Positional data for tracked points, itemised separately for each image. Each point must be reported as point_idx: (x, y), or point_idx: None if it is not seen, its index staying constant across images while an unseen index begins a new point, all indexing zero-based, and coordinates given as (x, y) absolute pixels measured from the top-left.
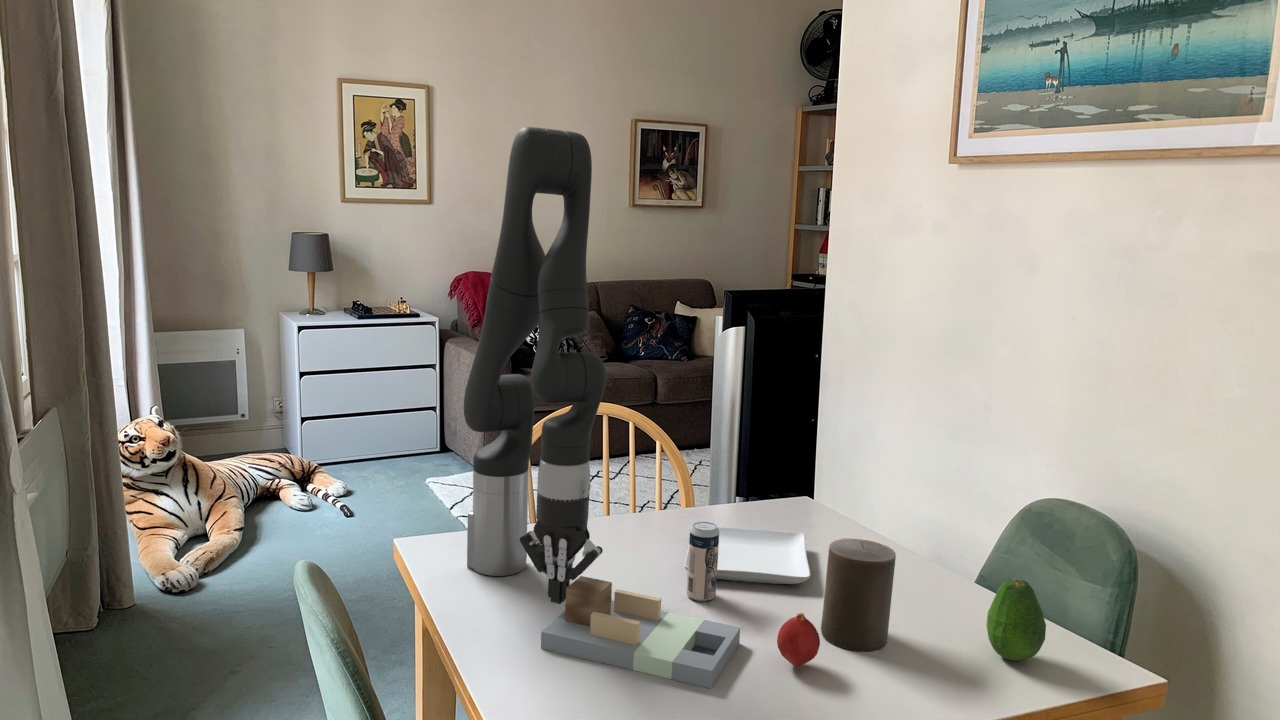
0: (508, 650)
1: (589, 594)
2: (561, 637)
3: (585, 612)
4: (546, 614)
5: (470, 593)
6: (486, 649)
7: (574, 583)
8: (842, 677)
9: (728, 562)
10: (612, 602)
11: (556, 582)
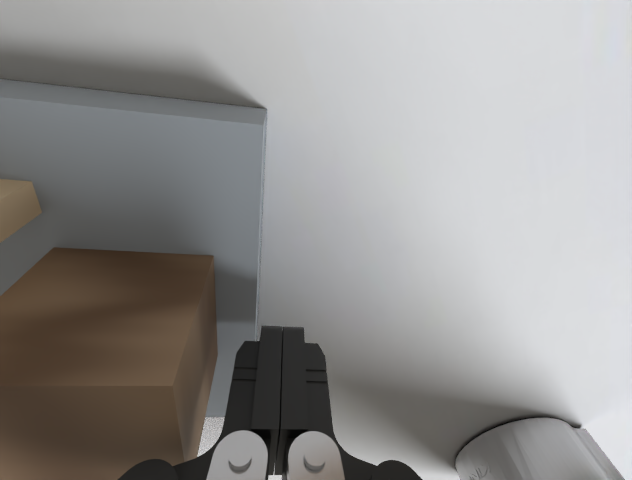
0: (388, 41)
1: None
2: (145, 110)
3: (85, 289)
4: (341, 323)
5: (571, 345)
6: (483, 14)
7: (166, 438)
8: None
9: None
10: None
11: (275, 418)
